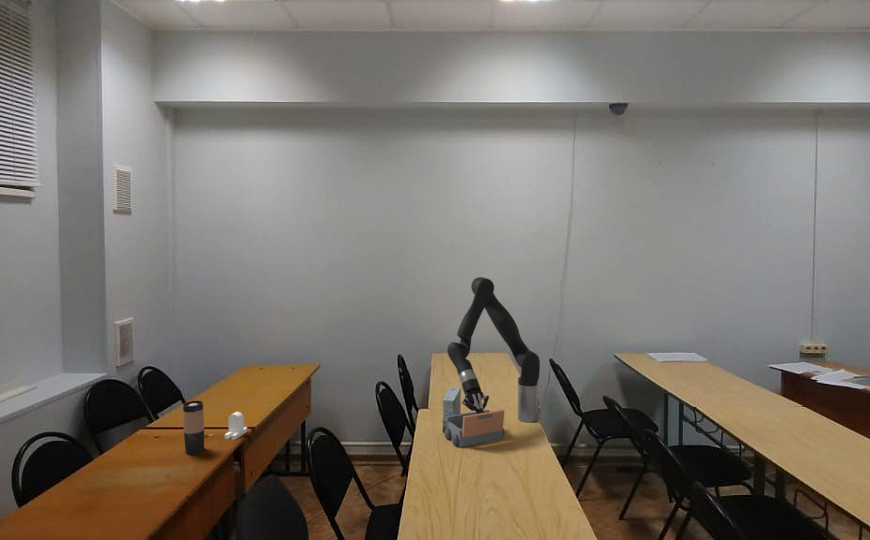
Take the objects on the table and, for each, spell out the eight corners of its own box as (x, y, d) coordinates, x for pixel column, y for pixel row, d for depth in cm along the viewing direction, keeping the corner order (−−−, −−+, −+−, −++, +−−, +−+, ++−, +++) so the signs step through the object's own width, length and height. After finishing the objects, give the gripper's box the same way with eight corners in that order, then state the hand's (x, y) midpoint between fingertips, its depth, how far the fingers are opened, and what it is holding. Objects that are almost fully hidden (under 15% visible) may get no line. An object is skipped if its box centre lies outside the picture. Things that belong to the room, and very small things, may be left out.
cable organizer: (247, 431, 235) (247, 409, 235) (235, 439, 226) (234, 417, 225) (237, 430, 236) (236, 409, 236) (224, 439, 227) (223, 416, 226)
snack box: (454, 433, 231) (454, 400, 230) (442, 432, 232) (441, 399, 231) (461, 417, 252) (461, 386, 251) (450, 416, 253) (449, 386, 252)
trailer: (490, 428, 236) (490, 409, 236) (505, 438, 225) (505, 418, 224) (444, 436, 227) (443, 416, 227) (456, 447, 215) (456, 426, 215)
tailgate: (501, 428, 223) (502, 409, 221) (503, 431, 221) (505, 411, 220) (462, 436, 215) (463, 416, 214) (464, 438, 214) (465, 418, 212)
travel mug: (209, 448, 217) (207, 401, 215) (195, 455, 210) (193, 407, 208) (194, 445, 219) (192, 399, 218) (180, 453, 212) (178, 405, 211)
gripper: (458, 379, 223) (471, 416, 213) (485, 376, 229) (499, 412, 218) (453, 388, 229) (465, 424, 218) (479, 384, 234) (492, 420, 224)
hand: (482, 418), depth 218 cm, fingers closed
